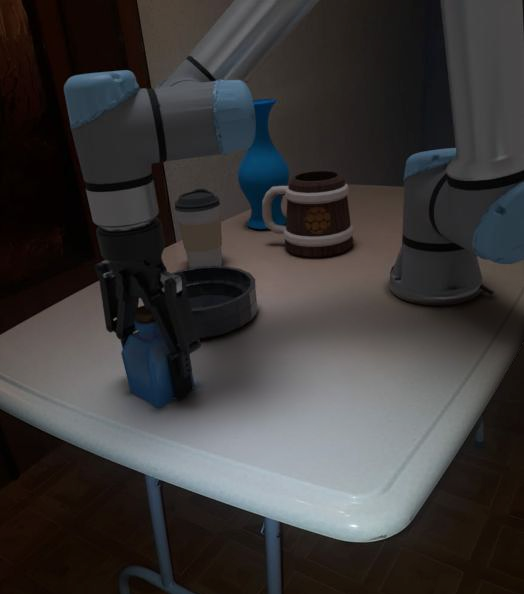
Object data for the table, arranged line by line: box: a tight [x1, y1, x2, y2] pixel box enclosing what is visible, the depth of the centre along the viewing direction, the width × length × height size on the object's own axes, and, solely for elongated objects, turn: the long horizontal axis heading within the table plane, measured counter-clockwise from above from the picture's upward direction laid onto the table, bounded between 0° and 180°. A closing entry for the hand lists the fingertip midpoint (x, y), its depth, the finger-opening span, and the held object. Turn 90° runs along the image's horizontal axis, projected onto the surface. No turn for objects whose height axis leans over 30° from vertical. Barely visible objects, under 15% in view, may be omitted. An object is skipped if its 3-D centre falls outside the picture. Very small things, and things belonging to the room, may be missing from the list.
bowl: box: [151, 265, 259, 340], centre depth 93 cm, size 19×19×6 cm
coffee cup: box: [174, 188, 223, 268], centre depth 113 cm, size 9×9×15 cm
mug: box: [262, 170, 355, 258], centre depth 117 cm, size 20×15×15 cm
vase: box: [237, 98, 290, 230], centre depth 131 cm, size 12×13×28 cm
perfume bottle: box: [120, 305, 195, 409], centre depth 73 cm, size 6×6×12 cm
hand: (161, 386), depth 75 cm, fingers open, 8 cm apart
